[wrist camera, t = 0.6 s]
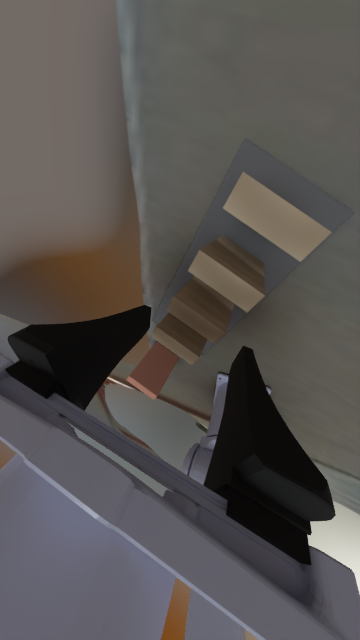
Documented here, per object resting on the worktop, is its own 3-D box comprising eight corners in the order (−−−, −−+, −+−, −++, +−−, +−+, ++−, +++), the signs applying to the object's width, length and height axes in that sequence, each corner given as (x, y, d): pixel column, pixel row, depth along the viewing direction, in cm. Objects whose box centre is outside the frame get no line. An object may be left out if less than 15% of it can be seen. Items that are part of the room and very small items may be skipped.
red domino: (175, 361, 30) (153, 399, 24) (153, 345, 31) (126, 380, 24) (179, 357, 29) (157, 396, 23) (156, 341, 30) (128, 375, 23)
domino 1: (252, 276, 17) (247, 312, 11) (213, 249, 17) (187, 270, 11) (264, 263, 16) (265, 295, 10) (222, 234, 16) (199, 249, 10)
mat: (202, 354, 27) (202, 355, 26) (152, 319, 27) (152, 319, 27) (353, 212, 12) (354, 212, 12) (245, 139, 13) (245, 137, 12)
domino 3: (210, 322, 22) (191, 365, 16) (181, 301, 23) (150, 336, 16) (217, 315, 21) (199, 357, 15) (186, 293, 22) (156, 326, 15)
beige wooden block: (284, 240, 15) (300, 262, 9) (239, 208, 15) (222, 208, 9) (300, 222, 14) (331, 232, 8) (251, 188, 14) (243, 171, 8)
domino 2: (228, 302, 20) (214, 344, 14) (195, 279, 20) (165, 310, 14) (237, 293, 19) (225, 333, 13) (202, 268, 19) (173, 296, 13)
